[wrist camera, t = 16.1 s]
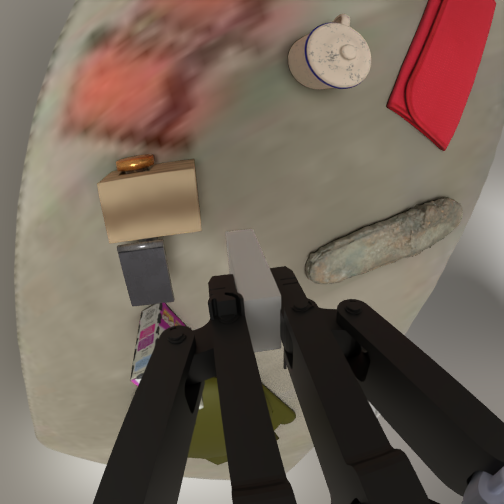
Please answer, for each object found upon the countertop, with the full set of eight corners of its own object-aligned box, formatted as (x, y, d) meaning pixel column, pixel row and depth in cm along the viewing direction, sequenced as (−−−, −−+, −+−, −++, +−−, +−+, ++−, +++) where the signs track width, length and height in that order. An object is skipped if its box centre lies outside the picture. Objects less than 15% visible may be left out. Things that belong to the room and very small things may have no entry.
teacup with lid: (332, 100, 43) (371, 100, 33) (277, 77, 41) (304, 68, 30) (354, 35, 39) (395, 21, 29) (301, 11, 36) (333, -13, 26)
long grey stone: (295, 240, 54) (307, 285, 59) (303, 256, 49) (315, 302, 54) (455, 184, 53) (455, 227, 58) (472, 193, 48) (470, 238, 53)
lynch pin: (120, 158, 42) (111, 164, 37) (155, 152, 42) (150, 157, 38) (135, 242, 47) (129, 257, 43) (167, 238, 48) (165, 252, 43)
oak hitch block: (112, 171, 42) (97, 183, 35) (194, 158, 44) (194, 168, 37) (121, 222, 46) (109, 243, 38) (199, 211, 47) (201, 230, 40)
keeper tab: (118, 244, 39) (116, 247, 38) (162, 238, 39) (162, 240, 39) (133, 302, 42) (132, 306, 41) (174, 298, 43) (174, 301, 42)
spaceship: (298, 412, 74) (308, 442, 65) (203, 455, 77) (206, 483, 68) (215, 336, 58) (220, 373, 49) (107, 396, 61) (102, 430, 52)
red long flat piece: (381, 105, 45) (394, 106, 42) (441, -42, 32) (452, -46, 29) (440, 150, 50) (452, 154, 47) (488, 6, 37) (500, 5, 34)
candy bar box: (139, 311, 53) (127, 380, 38) (161, 297, 52) (154, 366, 38) (178, 350, 58) (179, 419, 43) (199, 338, 57) (205, 408, 43)
